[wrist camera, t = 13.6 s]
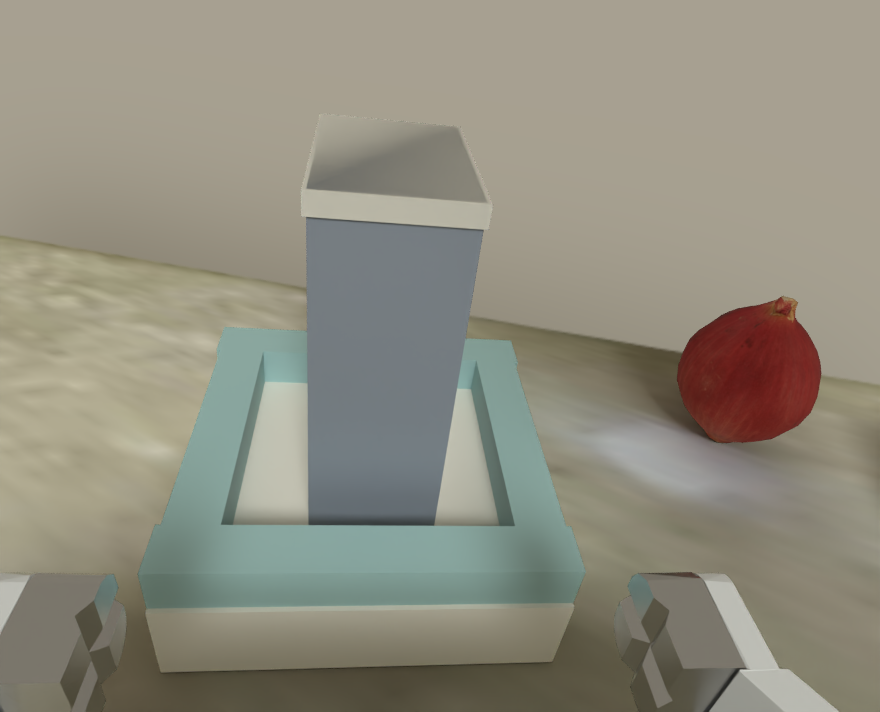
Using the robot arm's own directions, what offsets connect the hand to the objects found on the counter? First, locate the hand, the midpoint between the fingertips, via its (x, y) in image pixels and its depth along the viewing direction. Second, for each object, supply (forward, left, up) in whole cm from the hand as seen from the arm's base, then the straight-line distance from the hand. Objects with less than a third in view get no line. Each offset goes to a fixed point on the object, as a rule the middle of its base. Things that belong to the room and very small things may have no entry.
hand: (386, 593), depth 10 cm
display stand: (0, -10, -10) cm, 14 cm away
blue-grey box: (0, -10, -7) cm, 13 cm away
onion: (-17, -15, -10) cm, 25 cm away
